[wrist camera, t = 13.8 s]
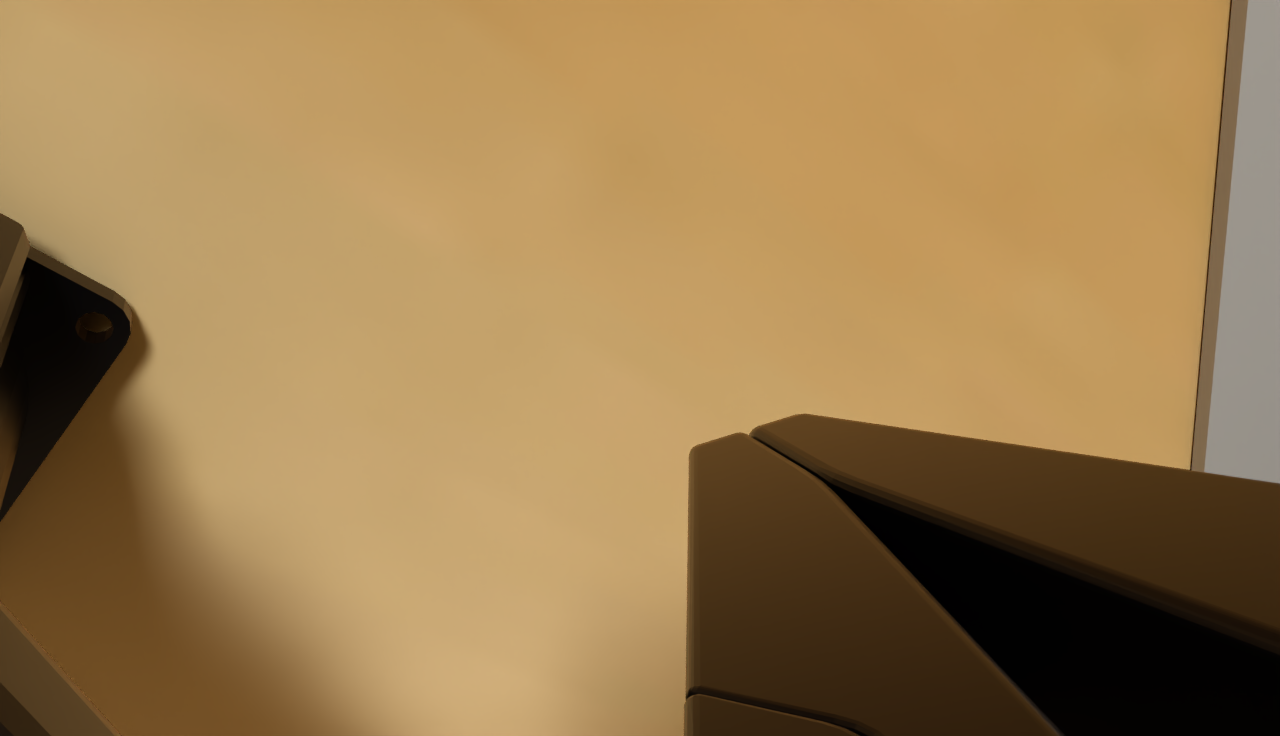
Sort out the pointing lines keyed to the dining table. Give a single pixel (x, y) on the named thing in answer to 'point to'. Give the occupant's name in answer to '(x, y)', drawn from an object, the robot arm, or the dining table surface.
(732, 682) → the robot arm
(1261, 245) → the card
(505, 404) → the dining table surface
